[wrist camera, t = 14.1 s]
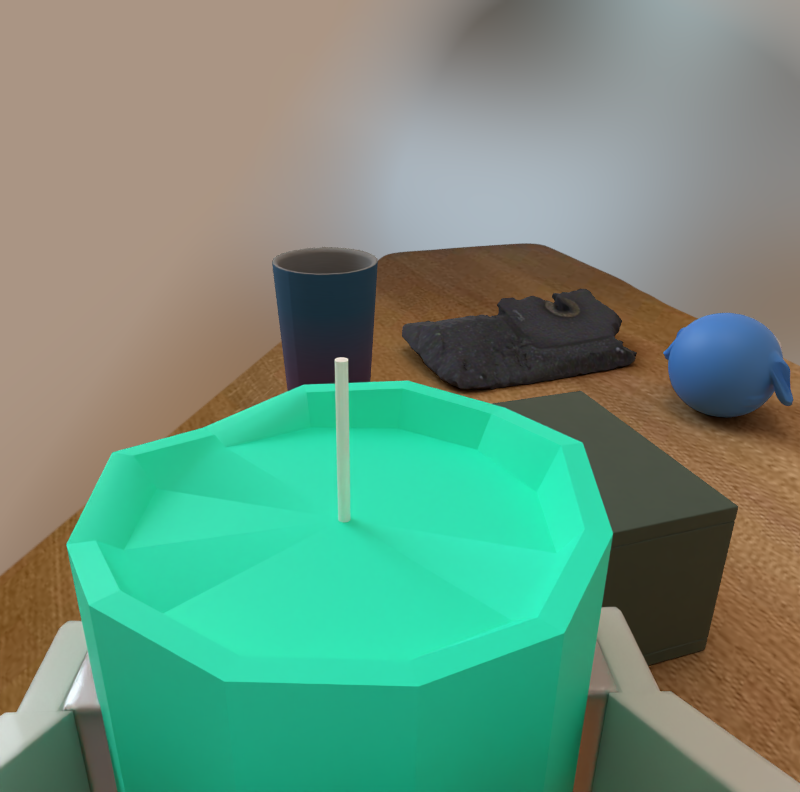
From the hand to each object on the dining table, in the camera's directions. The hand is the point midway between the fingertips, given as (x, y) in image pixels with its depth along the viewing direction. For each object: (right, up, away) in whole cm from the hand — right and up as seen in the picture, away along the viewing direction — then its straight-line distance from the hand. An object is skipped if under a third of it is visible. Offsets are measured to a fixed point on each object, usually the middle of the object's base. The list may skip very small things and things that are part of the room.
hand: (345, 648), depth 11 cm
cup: (-4, -1, +45) cm, 45 cm away
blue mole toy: (+29, +3, +54) cm, 61 cm away
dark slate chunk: (+12, +8, +65) cm, 67 cm away
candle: (0, -7, +2) cm, 7 cm away
